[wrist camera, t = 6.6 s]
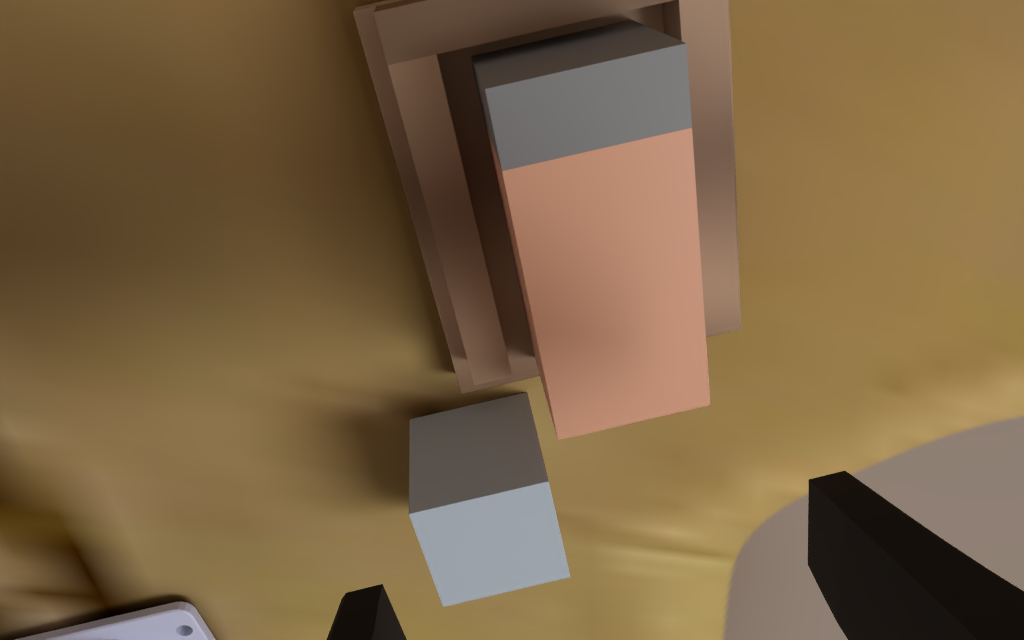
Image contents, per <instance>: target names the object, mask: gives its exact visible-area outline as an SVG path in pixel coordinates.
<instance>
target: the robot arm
mask: <svg viewBox="0 0 1024 640" xmlns="http://www.w3.org/2000/svg"><path fill="white" fill-rule="evenodd" d="M808 566H809V567H810V569H811V572H812V574H813V576H814V578H815V580H816V582H817V584H818V586H819V588H820V590H821V592H822V594H823V596H824V598H825V600H826V602H827V604H828V605H829V607H830V609H831V611H832V613H833V615H834V617H835V619H836V621H837V623H838V624H839V626H840V627H841V629H842V630H843V632H844V634H845V635H846V637H847V638H848V640H1024V591H1022V590H1021V589H1019V588H1017V587H1016V586H1014V585H1012V584H1011V583H1009V582H1008V581H1006V580H1004V579H1003V578H1001V577H1000V576H998V575H996V574H995V573H993V572H992V571H990V570H989V569H987V568H985V567H984V566H982V565H981V564H979V563H978V562H976V561H975V560H973V559H972V558H970V557H969V556H967V555H966V554H964V553H963V552H961V551H959V550H958V549H957V548H955V547H953V546H952V545H950V544H949V543H947V542H946V541H944V540H943V539H941V538H940V537H939V536H937V535H936V534H934V533H932V532H931V531H930V530H928V529H927V528H925V527H924V526H922V525H921V524H920V523H918V522H917V521H915V520H914V519H913V518H911V517H910V516H908V515H907V514H905V513H904V512H902V511H901V510H900V509H898V508H897V507H895V506H894V505H893V504H891V503H890V502H888V501H887V500H886V499H884V498H883V497H881V496H880V495H879V494H877V493H876V492H874V491H873V490H872V489H870V488H869V487H867V486H866V485H864V484H863V483H862V482H860V481H859V480H858V479H856V478H855V477H853V476H852V475H850V474H849V473H847V472H846V471H842V472H838V473H834V474H830V475H826V476H822V477H818V478H814V479H809V513H808ZM15 640H216V639H215V638H214V636H213V635H212V633H211V632H210V630H209V629H208V627H207V625H206V624H205V622H204V621H203V619H202V618H201V616H200V614H199V613H198V611H197V610H196V608H195V607H194V606H193V605H191V604H189V603H187V602H182V601H181V602H173V603H169V604H165V605H160V606H156V607H152V608H148V609H143V610H139V611H135V612H131V613H126V614H122V615H118V616H113V617H109V618H105V619H101V620H96V621H92V622H88V623H84V624H79V625H75V626H71V627H66V628H62V629H58V630H54V631H49V632H45V633H41V634H36V635H32V636H28V637H24V638H19V639H15ZM327 640H406V637H405V635H404V633H403V630H402V628H401V626H400V623H399V621H398V619H397V617H396V614H395V612H394V610H393V607H392V605H391V603H390V600H389V598H388V596H387V594H386V591H385V589H384V587H383V584H381V585H377V586H373V587H369V588H364V589H360V590H356V591H352V592H348V593H346V594H345V595H344V597H343V598H342V600H341V603H340V605H339V608H338V611H337V614H336V616H335V619H334V622H333V624H332V627H331V630H330V632H329V635H328V638H327Z"/></svg>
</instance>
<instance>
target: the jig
mask: <svg viewBox="0 0 1024 640" xmlns="http://www.w3.org/2000/svg"><path fill="white" fill-rule="evenodd" d="M353 14H354V18H355V21H356V25H357V28H358V32H359V35H360V39H361V43H362V46H363V50H364V53H365V57H366V60H367V64H368V67H369V71H370V74H371V78H372V81H373V85H374V88H375V92H376V95H377V99H378V102H379V106H380V109H381V113H382V116H383V120H384V123H385V127H386V130H387V134H388V137H389V141H390V144H391V148H392V151H393V155H394V158H395V162H396V165H397V169H398V172H399V176H400V179H401V183H402V186H403V190H404V194H405V197H406V201H407V204H408V208H409V211H410V215H411V218H412V222H413V225H414V229H415V232H416V236H417V239H418V243H419V246H420V250H421V253H422V257H423V260H424V264H425V267H426V271H427V274H428V278H429V281H430V285H431V288H432V292H433V295H434V299H435V302H436V306H437V309H438V313H439V316H440V320H441V323H442V327H443V330H444V334H445V337H446V341H447V345H448V348H449V352H450V355H451V359H452V362H453V366H454V369H455V373H456V376H457V380H458V383H459V387H460V390H461V394H463V393H468V392H472V391H476V390H481V389H485V388H489V387H494V386H498V385H502V384H507V383H511V382H515V381H520V380H524V379H528V378H532V377H537V376H540V374H539V370H538V367H537V363H536V359H535V355H534V351H533V346H532V341H531V337H530V332H529V327H528V322H527V318H526V313H525V308H524V304H523V299H522V294H521V290H520V285H519V280H518V276H517V271H516V266H515V262H514V257H513V252H512V247H511V243H510V238H509V233H508V229H507V224H506V219H505V215H504V210H503V205H502V201H501V196H500V191H499V186H498V182H497V177H496V172H495V168H494V163H493V158H492V154H491V149H490V144H489V140H488V135H487V130H486V125H485V121H484V116H483V111H482V107H481V102H480V97H479V93H478V88H477V83H476V79H475V74H474V69H473V64H472V60H471V56H474V55H478V54H482V53H487V52H491V51H496V50H500V49H504V48H509V47H513V46H518V45H522V44H526V43H531V42H535V41H540V40H544V39H548V38H553V37H557V36H562V35H566V34H570V33H575V32H579V31H583V30H588V29H592V28H597V27H601V26H605V25H610V24H614V23H619V22H623V21H627V20H634V21H636V22H638V23H641V24H643V25H645V26H648V27H650V28H652V29H655V30H657V31H659V32H662V33H664V34H666V35H669V36H671V37H673V38H676V39H678V40H680V41H683V42H685V43H687V59H688V74H689V89H690V104H691V119H692V134H693V149H694V165H695V180H696V195H697V210H698V225H699V240H700V256H701V271H702V286H703V301H704V316H705V331H706V337H709V336H713V335H718V334H722V333H726V332H731V331H735V330H739V329H741V313H740V285H739V257H738V230H737V202H736V175H735V147H734V119H733V92H732V64H731V36H730V9H729V0H384V1H380V2H375V3H371V4H367V5H362V6H358V7H356V8H355V9H354V11H353Z"/></svg>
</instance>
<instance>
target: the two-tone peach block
mask: <svg viewBox="0 0 1024 640" xmlns="http://www.w3.org/2000/svg"><path fill="white" fill-rule="evenodd" d="M471 60H472V64H473V69H474V74H475V79H476V83H477V88H478V93H479V97H480V102H481V107H482V111H483V116H484V121H485V125H486V130H487V135H488V140H489V144H490V149H491V154H492V158H493V163H494V168H495V172H496V177H497V182H498V186H499V191H500V196H501V201H502V205H503V210H504V215H505V219H506V224H507V229H508V233H509V238H510V243H511V247H512V252H513V257H514V262H515V266H516V271H517V276H518V280H519V285H520V290H521V294H522V299H523V304H524V308H525V313H526V318H527V322H528V327H529V332H530V337H531V341H532V346H533V351H534V355H535V359H536V363H537V367H538V370H539V374H540V377H541V381H542V384H543V388H544V392H545V395H546V399H547V402H548V406H549V409H550V413H551V417H552V420H553V424H554V427H555V431H556V434H557V438H558V440H561V439H565V438H570V437H574V436H578V435H583V434H587V433H591V432H596V431H600V430H604V429H608V428H613V427H617V426H621V425H626V424H630V423H634V422H638V421H643V420H647V419H651V418H656V417H660V416H664V415H669V414H673V413H677V412H681V411H686V410H690V409H694V408H699V407H703V406H707V405H710V392H709V377H708V362H707V346H706V331H705V316H704V301H703V286H702V271H701V256H700V240H699V225H698V210H697V195H696V180H695V165H694V149H693V134H692V119H691V104H690V89H689V74H688V59H687V43H685V42H683V41H680V40H678V39H676V38H673V37H671V36H669V35H666V34H664V33H662V32H659V31H657V30H655V29H652V28H650V27H648V26H645V25H643V24H641V23H638V22H636V21H634V20H627V21H623V22H619V23H614V24H610V25H605V26H601V27H597V28H592V29H588V30H583V31H579V32H575V33H570V34H566V35H562V36H557V37H553V38H548V39H544V40H540V41H535V42H531V43H526V44H522V45H518V46H513V47H509V48H504V49H500V50H496V51H491V52H487V53H482V54H478V55H474V56H471Z"/></svg>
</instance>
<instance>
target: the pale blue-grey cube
mask: <svg viewBox="0 0 1024 640" xmlns="http://www.w3.org/2000/svg"><path fill="white" fill-rule="evenodd" d="M409 516H410V519H411V521H412V524H413V527H414V529H415V532H416V535H417V537H418V540H419V543H420V545H421V548H422V551H423V553H424V556H425V559H426V561H427V564H428V567H429V570H430V572H431V575H432V578H433V580H434V583H435V586H436V588H437V591H438V594H439V596H440V599H441V602H442V604H443V607H445V606H449V605H454V604H458V603H462V602H466V601H471V600H475V599H479V598H483V597H488V596H492V595H496V594H500V593H505V592H509V591H513V590H517V589H522V588H526V587H530V586H534V585H538V584H543V583H547V582H551V581H555V580H560V579H564V578H568V577H570V573H569V569H568V564H567V560H566V556H565V551H564V547H563V542H562V538H561V534H560V529H559V525H558V520H557V516H556V512H555V507H554V503H553V498H552V494H551V490H550V485H549V481H548V477H547V473H546V468H545V464H544V460H543V456H542V452H541V448H540V444H539V439H538V435H537V431H536V427H535V423H534V419H533V415H532V410H531V406H530V402H529V398H528V394H527V392H525V393H521V394H517V395H512V396H508V397H504V398H500V399H495V400H491V401H487V402H482V403H478V404H474V405H470V406H465V407H461V408H457V409H452V410H448V411H444V412H440V413H435V414H431V415H427V416H422V417H418V418H414V419H410V453H409Z"/></svg>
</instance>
